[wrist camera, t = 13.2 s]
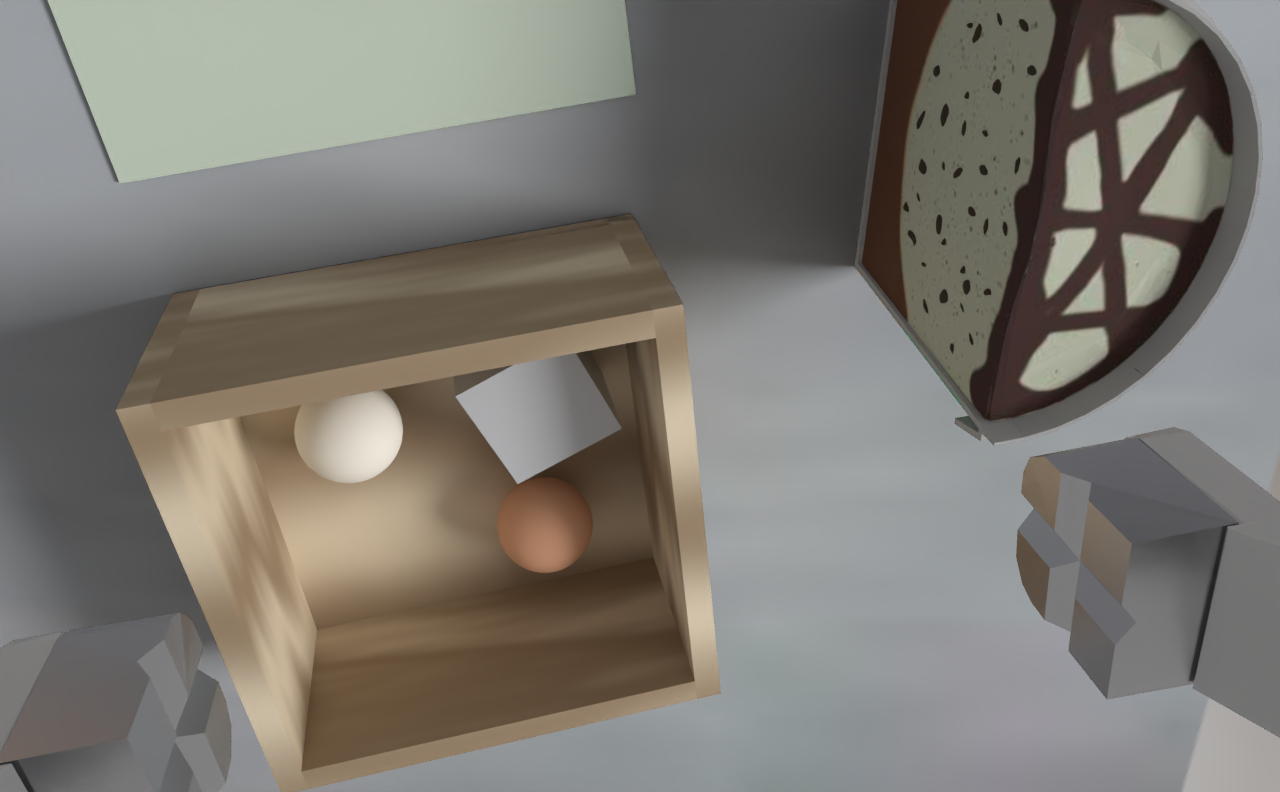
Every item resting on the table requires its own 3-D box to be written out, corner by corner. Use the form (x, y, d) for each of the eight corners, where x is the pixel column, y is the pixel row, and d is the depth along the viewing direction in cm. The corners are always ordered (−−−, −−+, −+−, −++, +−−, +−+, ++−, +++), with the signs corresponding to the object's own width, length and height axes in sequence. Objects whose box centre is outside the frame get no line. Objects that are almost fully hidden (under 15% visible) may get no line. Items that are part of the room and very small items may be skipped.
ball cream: (412, 437, 34) (413, 491, 31) (314, 456, 33) (306, 513, 31) (390, 352, 32) (388, 401, 29) (286, 371, 32) (275, 423, 29)
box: (672, 559, 39) (720, 693, 33) (302, 639, 38) (282, 794, 32) (632, 213, 32) (683, 304, 26) (172, 293, 30) (115, 410, 25)
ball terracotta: (590, 524, 37) (605, 581, 34) (502, 542, 37) (510, 601, 34) (578, 450, 35) (593, 504, 33) (486, 469, 35) (492, 524, 32)
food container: (1012, 296, 36) (1197, 443, 28) (848, 307, 35) (990, 463, 27) (1095, -86, 30) (1364, -48, 22) (901, -88, 29) (1105, -49, 21)
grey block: (602, 373, 34) (621, 428, 31) (507, 424, 34) (517, 484, 31) (550, 286, 32) (565, 336, 29) (450, 341, 32) (455, 396, 29)
